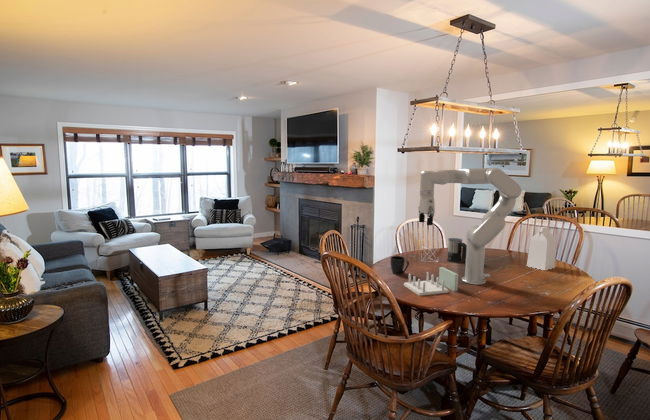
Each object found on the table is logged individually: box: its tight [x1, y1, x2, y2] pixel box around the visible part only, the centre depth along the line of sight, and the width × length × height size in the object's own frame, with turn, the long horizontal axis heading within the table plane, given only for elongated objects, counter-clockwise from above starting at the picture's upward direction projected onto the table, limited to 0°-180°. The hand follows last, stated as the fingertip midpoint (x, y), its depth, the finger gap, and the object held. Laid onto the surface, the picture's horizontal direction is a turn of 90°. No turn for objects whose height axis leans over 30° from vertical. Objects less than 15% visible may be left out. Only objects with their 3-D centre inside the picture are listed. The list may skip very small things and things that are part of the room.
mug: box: [390, 255, 410, 275], centre depth 225 cm, size 8×12×10 cm
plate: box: [438, 266, 459, 292], centre depth 203 cm, size 14×2×9 cm, turn 17°
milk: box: [526, 226, 557, 271], centre depth 241 cm, size 12×12×26 cm
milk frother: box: [446, 237, 467, 263], centre depth 256 cm, size 14×16×15 cm
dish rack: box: [403, 271, 450, 296], centre depth 200 cm, size 17×16×6 cm
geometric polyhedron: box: [420, 245, 439, 263], centre depth 255 cm, size 12×11×9 cm
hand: (425, 223), depth 213 cm, fingers open, 9 cm apart
